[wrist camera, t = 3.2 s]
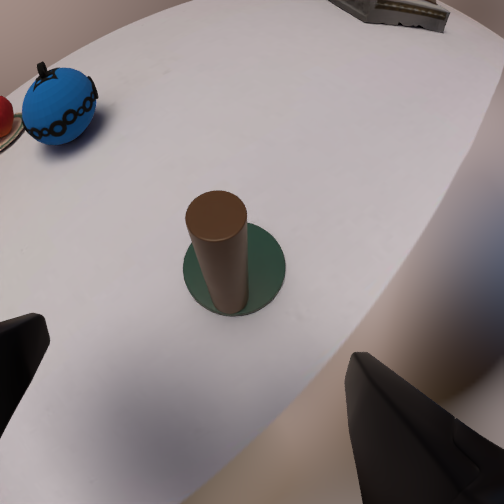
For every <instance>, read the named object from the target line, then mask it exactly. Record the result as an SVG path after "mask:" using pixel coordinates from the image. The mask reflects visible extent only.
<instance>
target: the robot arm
mask: <svg viewBox="0 0 504 504" xmlns="http://www.w3.org/2000/svg"><path fill="white" fill-rule="evenodd" d="M49 344H50V336H49V333H48V329H47V325H46V321H45V318H44V317H43V316H42V315H40V314H36V313H29V314H26V315H23V316H19V317H16V318H13V319H9V320H6V321H2V322H0V438H1V436H2V434H3V432H4V430H5V428H6V426H7V425H8V423H9V421H10V419H11V417H12V415H13V413H14V411H15V410H16V408H17V406H18V404H19V402H20V401H21V399H22V397H23V395H24V394H25V392H26V390H27V388H28V387H29V385H30V383H31V381H32V379H33V377H34V375H35V373H36V371H37V369H38V367H39V365H40V363H41V360H42V358H43V356H44V354H45V352H46V350H47V348H48V346H49ZM345 392H346V403H347V414H348V426H349V434H350V439H351V444H352V448H353V454H354V459H355V463H356V468H357V474H358V479H359V485H360V490H361V496H362V501H363V504H504V449H502V448H501V447H499V446H497V445H496V444H494V443H492V442H491V441H489V440H487V439H486V438H484V437H483V436H481V435H479V434H478V433H477V432H475V431H474V430H472V429H471V428H469V427H468V426H466V425H465V424H464V423H462V422H461V421H460V420H458V419H457V418H456V419H455V417H454V416H453V415H451V414H450V413H449V412H447V411H446V410H445V409H443V408H442V407H441V406H439V405H438V404H436V403H435V402H434V401H432V400H431V399H430V398H428V397H427V396H426V395H424V394H423V393H422V392H420V391H419V390H418V389H416V388H415V387H414V386H412V385H411V384H410V383H408V382H407V381H405V380H404V379H403V378H401V377H400V376H399V375H397V374H396V373H395V372H393V371H392V370H391V369H389V368H388V367H387V366H385V365H384V364H383V363H381V362H380V361H379V360H377V359H376V358H375V357H373V356H372V355H370V354H369V353H368V352H354V353H353V354H352V355H351V358H350V361H349V365H348V368H347V372H346V376H345Z"/></svg>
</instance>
